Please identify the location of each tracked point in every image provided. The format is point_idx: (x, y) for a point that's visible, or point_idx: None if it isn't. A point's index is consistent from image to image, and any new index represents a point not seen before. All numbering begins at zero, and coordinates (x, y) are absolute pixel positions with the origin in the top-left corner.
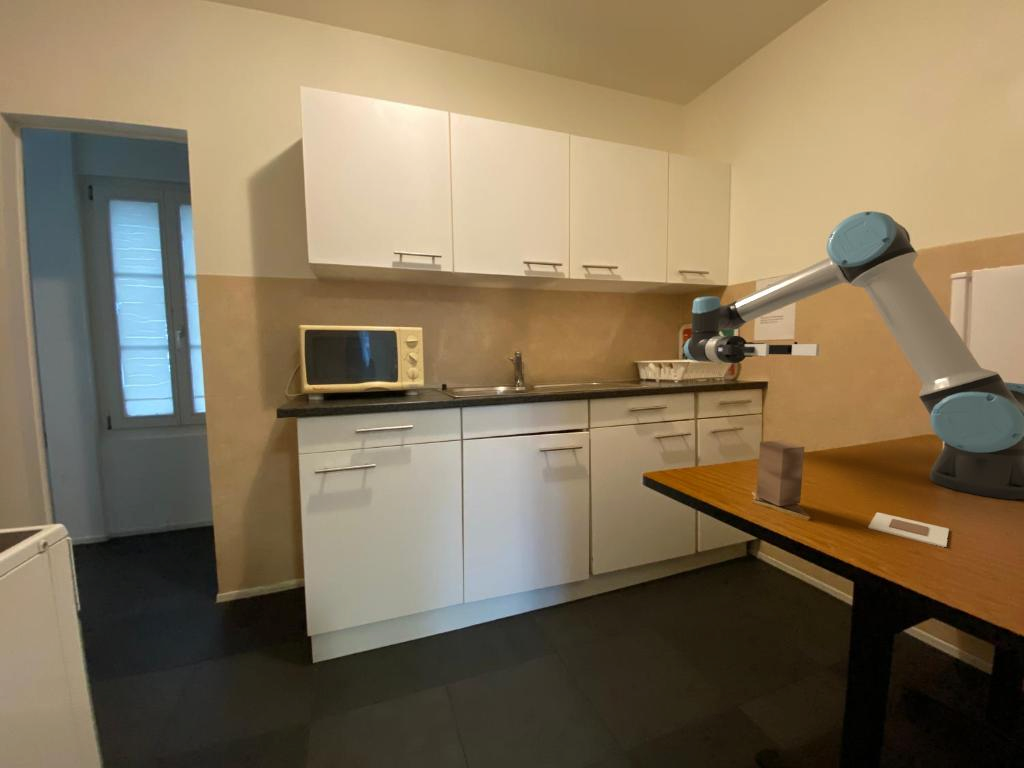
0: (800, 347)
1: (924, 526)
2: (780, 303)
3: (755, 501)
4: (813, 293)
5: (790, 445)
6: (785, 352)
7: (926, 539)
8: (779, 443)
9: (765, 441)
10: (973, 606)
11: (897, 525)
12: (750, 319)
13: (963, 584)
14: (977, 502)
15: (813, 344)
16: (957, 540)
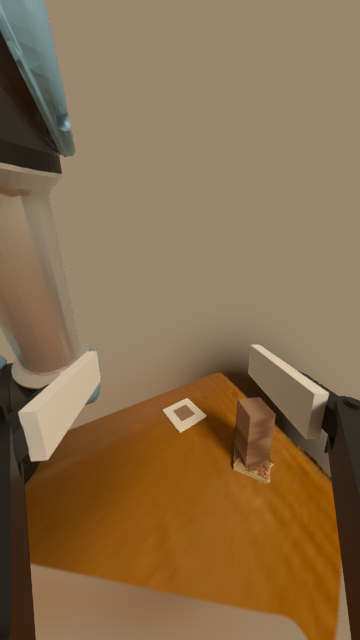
0: (69, 392)
1: (174, 411)
2: None
3: (270, 460)
4: None
5: (248, 403)
6: (22, 489)
7: (189, 402)
8: (256, 408)
9: (268, 415)
10: (219, 376)
11: (189, 413)
12: None
13: (210, 383)
14: (71, 443)
15: (93, 356)
16: (172, 403)
